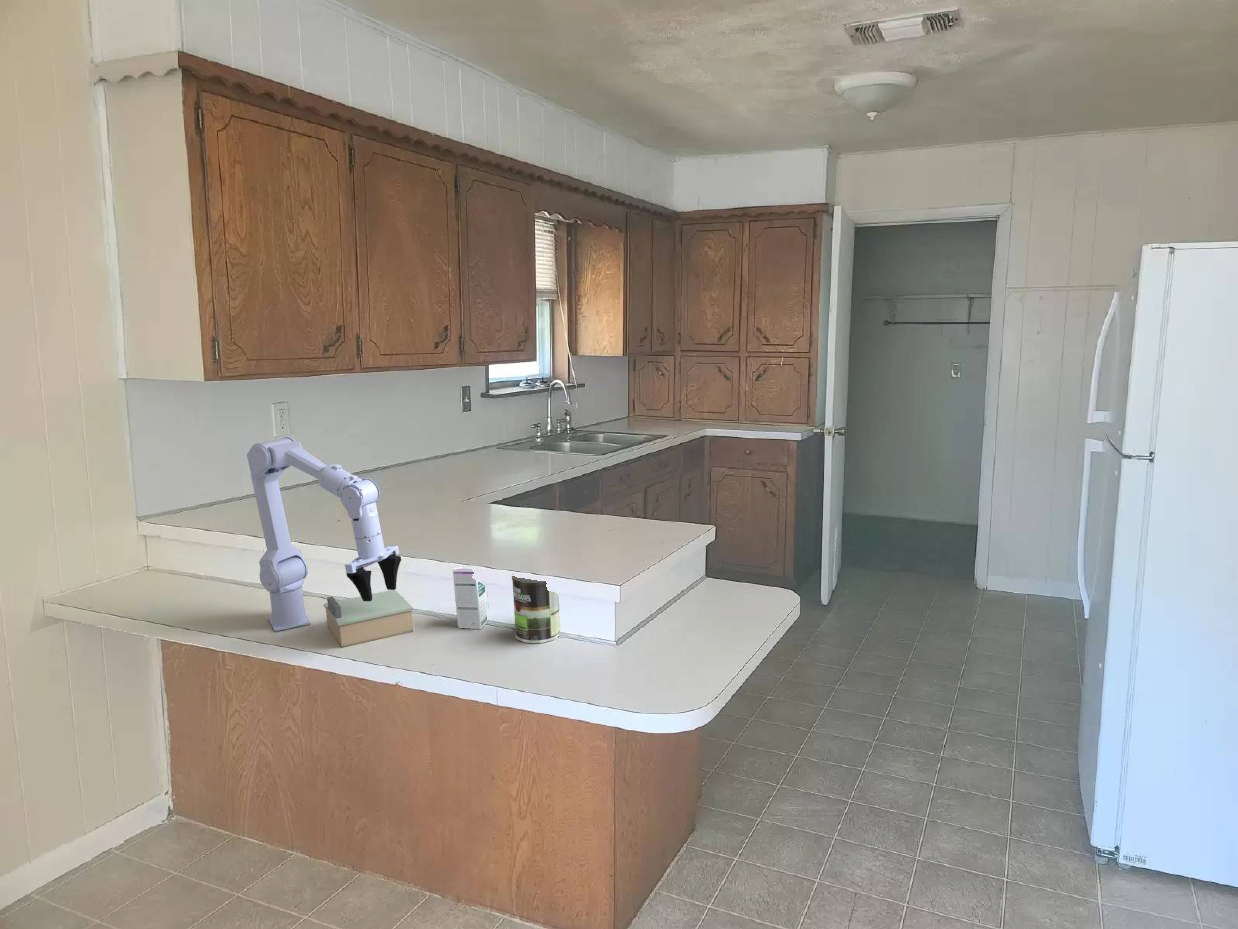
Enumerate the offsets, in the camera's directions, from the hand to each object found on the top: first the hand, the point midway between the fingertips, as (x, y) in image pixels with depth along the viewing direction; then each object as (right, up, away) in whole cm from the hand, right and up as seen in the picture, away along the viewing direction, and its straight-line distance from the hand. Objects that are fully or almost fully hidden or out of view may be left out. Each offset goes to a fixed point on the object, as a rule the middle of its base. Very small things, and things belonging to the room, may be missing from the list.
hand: (379, 595), depth 193 cm
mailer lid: (-5, -4, +8) cm, 10 cm away
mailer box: (-5, -9, +9) cm, 14 cm away
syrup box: (+19, -9, +10) cm, 23 cm away
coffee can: (+35, -9, +3) cm, 36 cm away
